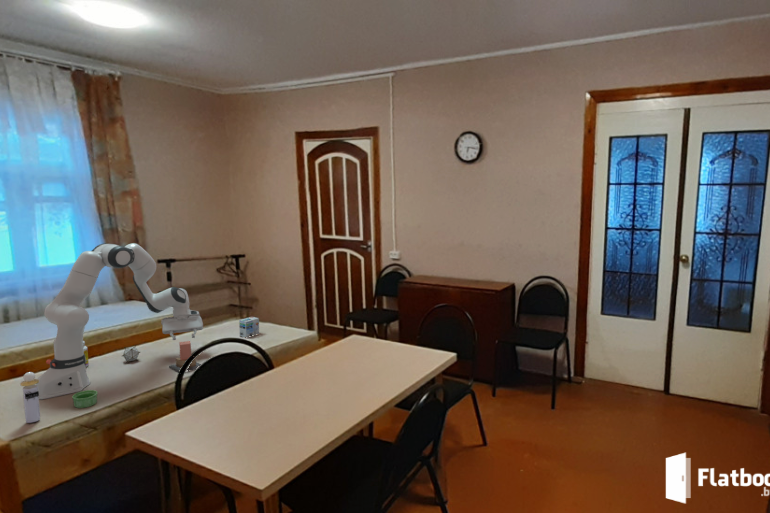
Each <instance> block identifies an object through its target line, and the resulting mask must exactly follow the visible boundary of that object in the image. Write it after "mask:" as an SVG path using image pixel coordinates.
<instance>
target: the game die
mask: <svg viewBox="0 0 770 513" xmlns="http://www.w3.org/2000/svg"><path fill="white" fill-rule="evenodd" d="M136 346H137V345H134V346H130V347H126V346H124V352H123V355H121V357H123V358H124V359H125V361H126V364H128V362H132V361H136V362H138V360H139V359H138V357H139V354H140V353H141V351H139V350H138V348H136Z"/></svg>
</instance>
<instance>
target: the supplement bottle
mask: <svg viewBox="0 0 770 513" xmlns="http://www.w3.org/2000/svg"><path fill="white" fill-rule="evenodd" d="M85 344H86V342H85V340H83V350H84V354H85V358H86V365H85V368H87V367H88V366H89V350H88V346H87V345H85Z"/></svg>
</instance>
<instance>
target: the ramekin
mask: <svg viewBox="0 0 770 513" xmlns="http://www.w3.org/2000/svg"><path fill="white" fill-rule="evenodd" d="M98 394H99V393H98V391H97V390H95V389H88V390H81V391H79V392H75V393H74V394H73V395H72V396H71V398H72V401H73V406H74V407H75V408H77V409H84V408H89V407H92V406H94V405H96V404H97V401H98Z"/></svg>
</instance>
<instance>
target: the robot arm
mask: <svg viewBox="0 0 770 513" xmlns="http://www.w3.org/2000/svg"><path fill="white" fill-rule="evenodd" d="M105 267H107V268H112V269H113V268H115V269H124V268H125V267H129V268H130V270H131V271H132V272H133V274H132V280H133V284H134V285H135V287H136V289H137V291H138V292H139V294H140V295H141V297H142V299H143V300H144V301H145V303H146V306H147V308H148V310H149V311H150V312H152V313H156V314H160V313H161V312H163V311H165V310H167V309H170V308H172V316H168V317H166V316H165V317H164V318H162V319H161V320H160V323H161V325H162V330H161V331H162V334H164V335H170V337H171V338H172V341H176V339H177V336H176V335H174V334H176V333H186V332H187V333H188V332H189V333H190V332H193V333H191V338H192V339H193V338H194V339H195V338H196V334H197V331H198V332H199V331H202V330H204V323H203V319H202V317H201V315H200V312H199V311H198V310H192V309H190V298H189V295H188V292H187V290H186V289H185V288H179V287H176V286H173V287H169V288H167V289H164V290H162V291H160V292H158V293H154V292H152V290H151V288H150V287H149V285H148V283H147V282H148V281H149V280H150V279H151V278H152V277H153V276H154V275H155V273H156V270H157V263H156V261H155V259H154V258H153V257H152V256H151V254H150V253H149V252H148V251H146V250H145V249H144V248H143V247H142V246H140V244H139V243H135V242H133V243H129V244H127V245H125V246H123V245H118V244H114V243H101V244H97V245H96V246H95V247H94V248H93V249H92V250H85V251H82V253H80V254H79V256H78V257H77V259H76V260H75V262H74V264H73V265H72V267H71V270H70V272H69V274H68V277H67V278H66V280H65V283H64V285H63V286H62V287H61V290H60V291H58V292H59V293H57V295H56V296H55V297H54V299H53V300H52V301H51V302H50V303H48V304H47V305H46V306H45V308H44V312H43V315H44V317H45V318H46V320H47V321H48V322H49V323H51V325H55V326H56V328H57V331H56V335H55V336H56V337H55V339H54V341H53V351H54V354H53V355H54V358H53V359H50V358H48V359H47V360H46V361H45V363H46V364H47V365H49V368H47V370H46V371H44V372H43V373H42V374H41V375H40V376H39V377H38V378H37V379H38V380H39V383H37V384H35V385H37V386H38V391H39V396H38V397H39V400H46V399H51V398H57V397H60V396H64V395H69V394H73V393H74V394H75V393H78V392H81V391H84V390H83V389H84V388H86V387H88V386H89V385H90V384H91V381H90V379H89V376H88V374H87V367H85V365H86V358H85V354H84V350H83V341H84V332H85V328H86V326H87V324H88V323H89V321H90V314H89V312H88V311H87V310H86V309H85V308H84V307H83V306H82V303H83V302H84V301H85V300H86V298H88V297H89V296H90V295H91V294H92V293H93V292H92V291H93V290H94V287H95V285H96V283H97V280H98V278H99V275H100V274H101V273H100V272H102V270H103V269H104V268H105Z"/></svg>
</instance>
